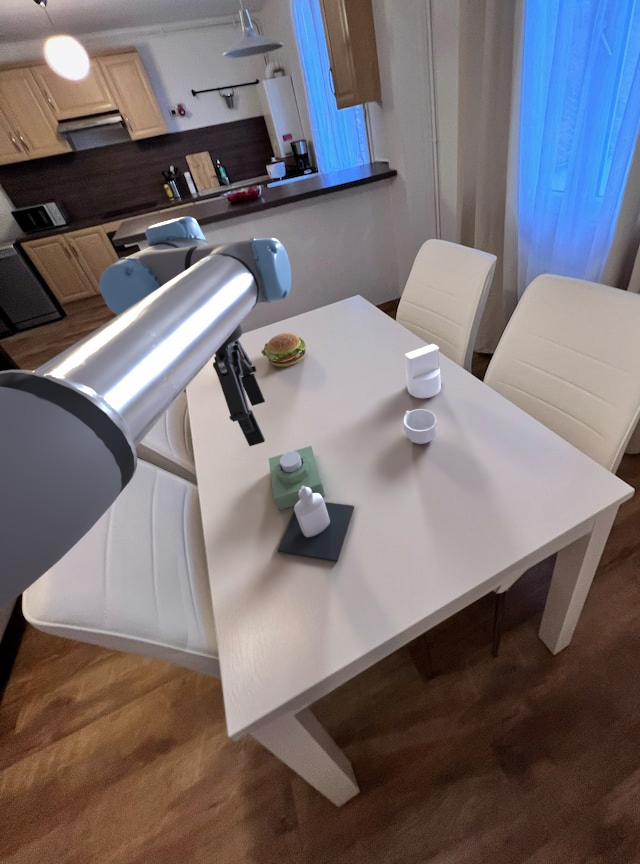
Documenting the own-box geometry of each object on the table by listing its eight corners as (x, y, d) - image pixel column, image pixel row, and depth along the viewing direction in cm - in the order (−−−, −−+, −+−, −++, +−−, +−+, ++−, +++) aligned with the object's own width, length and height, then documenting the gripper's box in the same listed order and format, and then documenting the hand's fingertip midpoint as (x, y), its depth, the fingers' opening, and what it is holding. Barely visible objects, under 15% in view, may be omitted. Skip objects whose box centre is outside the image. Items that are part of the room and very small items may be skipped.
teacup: (444, 439, 94) (443, 422, 91) (416, 453, 92) (415, 436, 88) (419, 417, 101) (418, 400, 98) (393, 429, 99) (391, 412, 96)
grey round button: (303, 469, 85) (301, 462, 84) (283, 475, 84) (280, 469, 83) (300, 455, 88) (298, 448, 87) (280, 461, 88) (278, 454, 86)
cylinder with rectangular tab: (418, 402, 106) (415, 364, 99) (401, 385, 113) (398, 349, 106) (447, 390, 109) (446, 353, 102) (429, 375, 116) (427, 338, 109)
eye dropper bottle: (330, 535, 77) (318, 494, 70) (301, 539, 77) (286, 499, 70) (330, 515, 80) (319, 475, 73) (302, 519, 81) (288, 479, 74)
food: (261, 356, 138) (254, 336, 133) (299, 343, 141) (294, 323, 137) (271, 375, 127) (264, 354, 122) (312, 360, 131) (307, 339, 126)
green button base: (325, 496, 85) (319, 477, 82) (278, 510, 84) (271, 492, 80) (314, 457, 95) (309, 439, 91) (273, 470, 93) (266, 452, 90)
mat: (337, 562, 73) (336, 560, 72) (277, 552, 76) (276, 550, 76) (354, 507, 82) (353, 505, 82) (300, 500, 85) (299, 498, 85)
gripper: (200, 302, 76) (241, 394, 87) (174, 357, 54) (234, 470, 65) (239, 291, 76) (275, 384, 87) (228, 341, 55) (278, 456, 66)
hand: (257, 421), depth 76 cm, fingers open, 13 cm apart
